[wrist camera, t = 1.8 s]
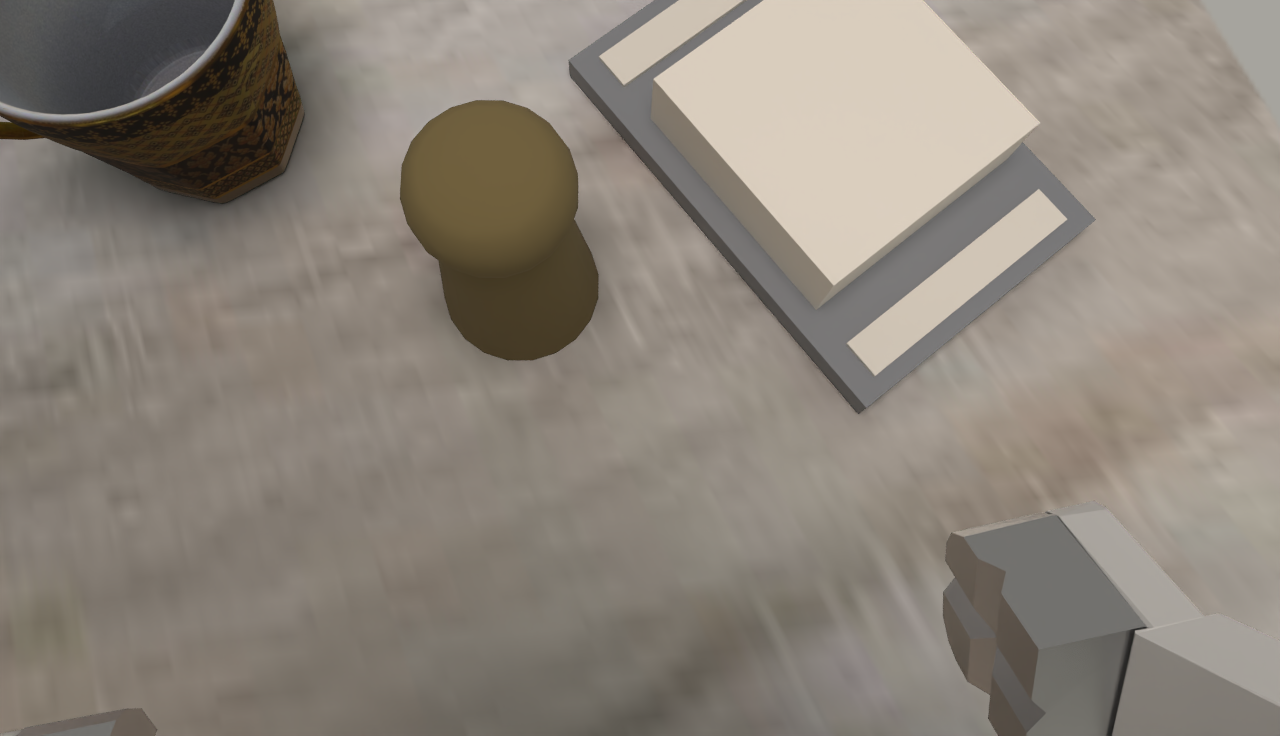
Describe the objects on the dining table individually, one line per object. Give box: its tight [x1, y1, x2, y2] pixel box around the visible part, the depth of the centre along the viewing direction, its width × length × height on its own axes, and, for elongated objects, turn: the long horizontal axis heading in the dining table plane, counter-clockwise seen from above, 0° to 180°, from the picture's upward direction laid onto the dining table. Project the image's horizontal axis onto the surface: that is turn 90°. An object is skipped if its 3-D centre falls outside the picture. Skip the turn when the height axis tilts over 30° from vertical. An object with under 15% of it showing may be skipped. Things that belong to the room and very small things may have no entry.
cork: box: [400, 100, 598, 360], centre depth 31 cm, size 6×6×11 cm
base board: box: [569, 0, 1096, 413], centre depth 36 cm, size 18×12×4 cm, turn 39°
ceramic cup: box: [0, 0, 304, 204], centre depth 33 cm, size 13×10×10 cm
